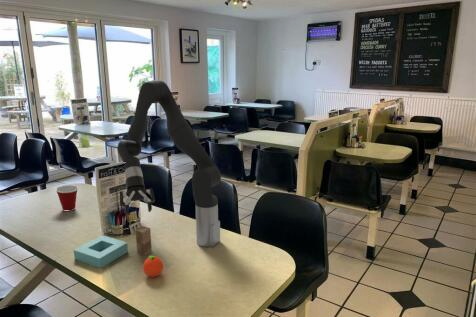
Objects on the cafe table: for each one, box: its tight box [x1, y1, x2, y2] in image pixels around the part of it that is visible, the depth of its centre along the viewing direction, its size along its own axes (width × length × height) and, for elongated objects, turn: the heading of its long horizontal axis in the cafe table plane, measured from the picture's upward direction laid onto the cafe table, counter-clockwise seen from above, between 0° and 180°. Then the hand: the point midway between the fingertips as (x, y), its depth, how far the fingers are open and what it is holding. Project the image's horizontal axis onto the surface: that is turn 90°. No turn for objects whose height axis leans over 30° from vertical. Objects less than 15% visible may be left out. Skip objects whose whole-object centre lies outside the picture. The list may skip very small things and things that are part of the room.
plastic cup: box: [55, 184, 79, 211], centre depth 184 cm, size 11×11×12 cm
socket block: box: [73, 235, 129, 269], centre depth 139 cm, size 14×14×4 cm
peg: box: [135, 225, 153, 256], centre depth 141 cm, size 4×4×10 cm
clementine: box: [142, 254, 164, 278], centre depth 126 cm, size 8×7×7 cm
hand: (139, 212), depth 148 cm, fingers open, 8 cm apart
